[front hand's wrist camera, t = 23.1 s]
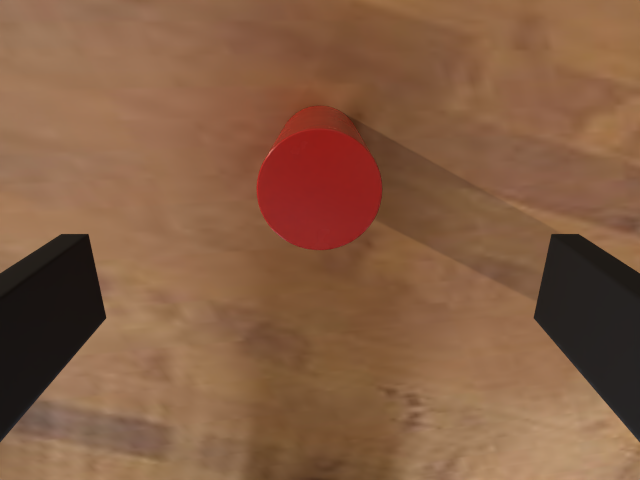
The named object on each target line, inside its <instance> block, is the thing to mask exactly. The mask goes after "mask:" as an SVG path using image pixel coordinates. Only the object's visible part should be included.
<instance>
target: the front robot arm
mask: <svg viewBox="0 0 640 480" xmlns="http://www.w3.org/2000/svg"><path fill="white" fill-rule="evenodd" d="M105 319H106V314H105V310H104V305H103V300H102V296H101V291H100V286H99V282H98V277H97V272H96V267H95V263H94V258H93V253H92V249H91V244H90V239H89V235H88V234H61V235H59V236H58V237H56V238H55V239H53V240H52V241H50V242H48V243H47V244H45V245H44V246H42V247H41V248H39V249H38V250H36V251H34V252H33V253H31V254H30V255H28V256H27V257H25V258H24V259H22V260H20V261H19V262H17V263H16V264H14V265H13V266H11V267H10V268H8V269H6V270H5V271H3V272H2V273H0V442H1V441H2V440H3V438H4V437H5V436H6V435H7V434H8V432H9V431H10V430H11V429H12V428H13V427H14V425H15V424H16V423H17V422H18V421H19V420H20V418H21V417H22V416H23V415H24V414H25V413H26V411H27V410H28V409H29V408H30V407H31V406H32V404H33V403H34V402H35V401H36V400H37V399H38V397H39V396H40V395H41V394H42V393H43V391H44V390H45V389H46V388H47V387H48V386H49V384H50V383H51V382H52V381H53V380H54V379H55V377H56V376H57V375H58V374H59V373H60V372H61V370H62V369H63V368H64V367H65V366H66V365H67V363H68V362H69V361H70V360H71V359H72V358H73V356H74V355H75V354H76V353H77V352H78V351H79V349H80V348H81V347H82V346H83V345H84V343H85V342H86V341H87V340H88V339H89V338H90V336H91V335H92V334H93V333H94V332H95V331H96V329H97V328H98V327H99V326H100V325H101V324H102V322H103V321H104V320H105ZM534 319H535V320H536V321H537V322H538V324H539V325H540V326H541V327H542V328H543V329H544V331H545V332H546V333H547V334H548V335H549V336H550V338H551V339H552V340H553V341H554V342H555V343H556V345H557V346H558V347H559V348H560V349H561V351H562V352H563V353H564V354H565V355H566V356H567V358H568V359H569V360H570V361H571V362H572V363H573V365H574V366H575V367H576V368H577V369H578V370H579V372H580V373H581V374H582V375H583V376H584V377H585V379H586V380H587V381H588V382H589V383H590V384H591V386H592V387H593V388H594V389H595V390H596V391H597V393H598V394H599V395H600V396H601V397H602V399H603V400H604V401H605V402H606V403H607V404H608V406H609V407H610V408H611V409H612V410H613V411H614V413H615V414H616V415H617V416H618V417H619V418H620V420H621V421H622V422H623V423H624V424H625V425H626V427H627V428H628V429H629V430H630V431H631V432H632V434H633V435H634V436H635V437H636V438H637V440H638V441H639V442H640V273H638V272H637V271H635V270H634V269H632V268H630V267H629V266H627V265H626V264H624V263H623V262H621V261H620V260H618V259H616V258H615V257H613V256H612V255H610V254H609V253H607V252H606V251H604V250H602V249H601V248H599V247H598V246H596V245H595V244H593V243H592V242H590V241H588V240H587V239H585V238H584V237H582V236H581V235H579V234H552V235H551V239H550V244H549V249H548V253H547V258H546V263H545V267H544V272H543V277H542V282H541V286H540V291H539V296H538V300H537V305H536V310H535V314H534Z"/></svg>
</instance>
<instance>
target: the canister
mask: <svg viewBox="0 0 640 480" xmlns="http://www.w3.org/2000/svg"><path fill="white" fill-rule="evenodd" d="M257 198H258V204H259V207H260V210H261V212H262V214H263V217H264V218H265V220H266V222H267V223H268V225H269V226H270V227H271V228H272V229H273V231H274V232H276V233H277V234H278V235H279V236H280V237H281V238H283V239H284V240H286V241H288V242H289V243H291V244H293V245H296V246H299V247H302V248H306V249H312V250H327V249H333V248H338V247H340V246H343V245H346V244H348V243H350V242H352V241H353V240H355V239H356V238H358V237H359V236H360V235H361V234H362V233H364V232H365V231H366V229H367V228H368V227H369V226H370V225H371V223H372V222H373V220H374V218H375V216H376V214H377V212H378V210H379V207H380V203H381V198H382V180H381V175H380V172H379V169H378V166H377V164H376V162H375V160H374V158H373V156H372V155H371V153H370V151H369V149H368V148H367V146H366V144H365V143H364V141H363V139H362V138H361V136H360V134H359V132H358V131H357V129H356V127H355V126H354V124H353V123H352V121H351V120H350V119H349V118H348V117H347V116H346V115H345V114H344V113H342V112H340V111H339V110H337V109H334V108H331V107H328V106H312V107H308V108H305V109H303V110H301V111H299V112H297V113H296V114H295V115H293V116H292V117H291V118H290V119H289V121H288V122H287V123H286V125H285V126H284V128H283V130H282V131H281V133H280V135H279V136H278V138H277V140H276V141H275V143H274V145H273V146H272V148H271V150H270V151H269V153H268V155H267V156H266V158H265V160H264V162H263V164H262V166H261V169H260V171H259V175H258V179H257Z"/></svg>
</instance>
